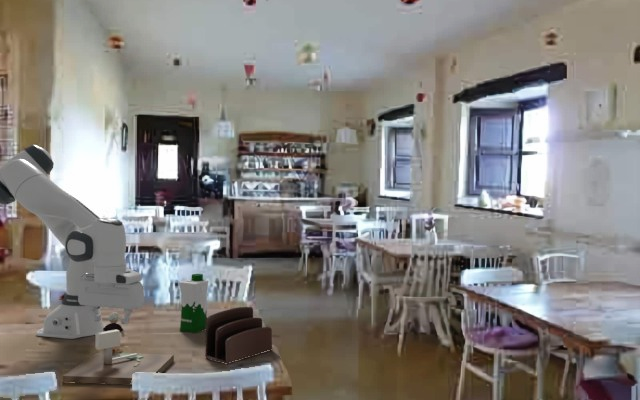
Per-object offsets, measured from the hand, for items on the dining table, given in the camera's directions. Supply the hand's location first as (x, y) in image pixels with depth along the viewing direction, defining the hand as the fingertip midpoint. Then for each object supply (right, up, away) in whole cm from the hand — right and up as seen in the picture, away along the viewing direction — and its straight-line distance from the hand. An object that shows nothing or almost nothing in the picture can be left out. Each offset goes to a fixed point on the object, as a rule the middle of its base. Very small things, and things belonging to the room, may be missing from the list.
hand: (110, 322), depth 180 cm
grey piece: (+1, -12, +2) cm, 12 cm away
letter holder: (+35, -14, +18) cm, 41 cm away
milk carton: (+14, -12, +47) cm, 51 cm away
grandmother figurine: (-6, -13, +19) cm, 24 cm away
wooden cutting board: (+3, -14, 0) cm, 14 cm away
